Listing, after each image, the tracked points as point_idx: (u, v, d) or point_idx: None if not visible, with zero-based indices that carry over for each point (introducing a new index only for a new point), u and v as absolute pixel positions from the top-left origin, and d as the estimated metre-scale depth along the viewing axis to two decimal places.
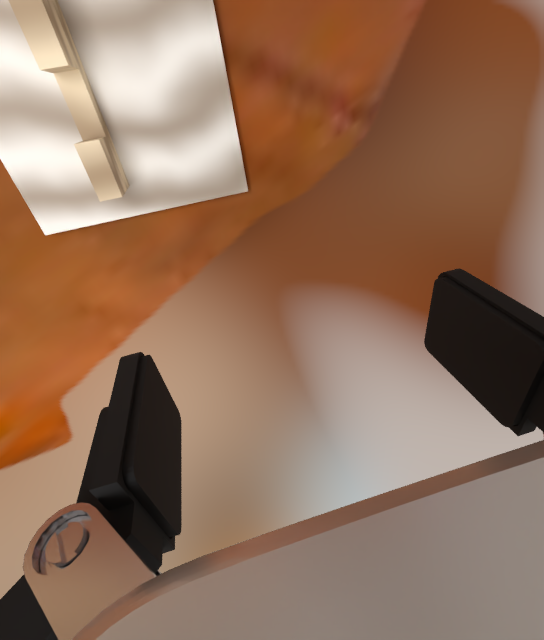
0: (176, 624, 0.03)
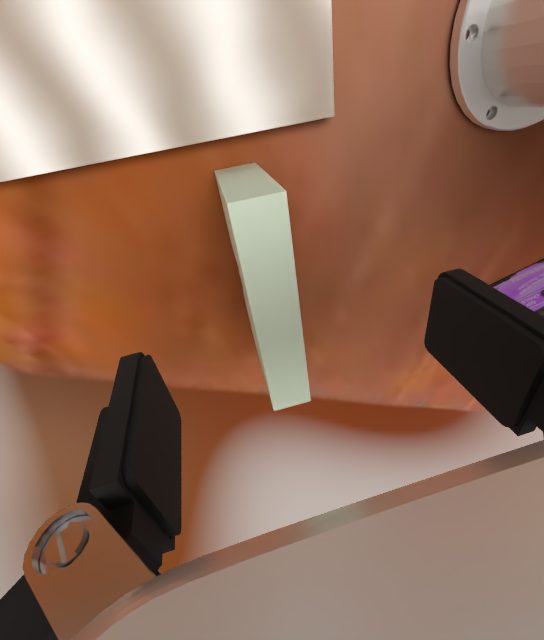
0: (176, 624, 0.03)
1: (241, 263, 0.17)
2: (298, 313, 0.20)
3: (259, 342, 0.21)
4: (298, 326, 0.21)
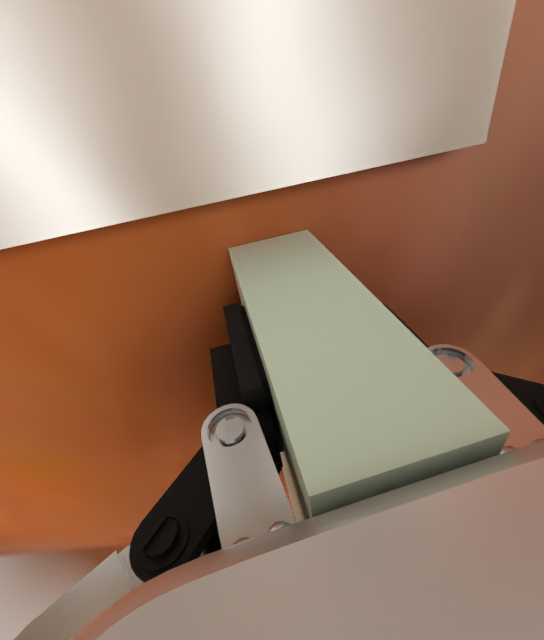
0: (176, 623, 0.03)
1: None
2: None
3: None
4: None
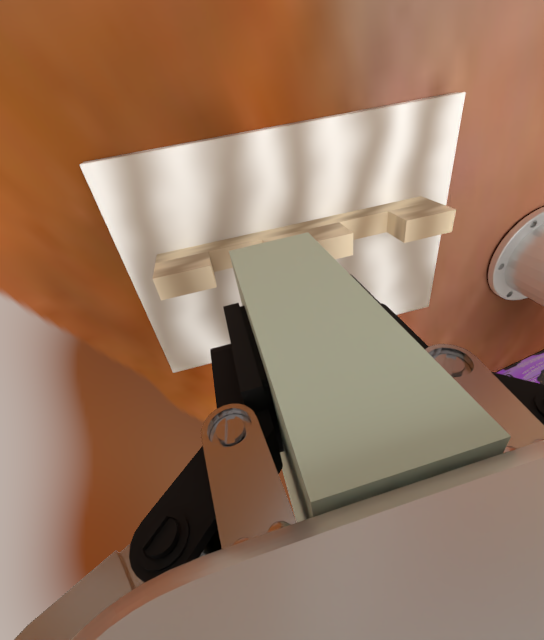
0: (176, 624, 0.03)
1: None
2: None
3: None
4: None
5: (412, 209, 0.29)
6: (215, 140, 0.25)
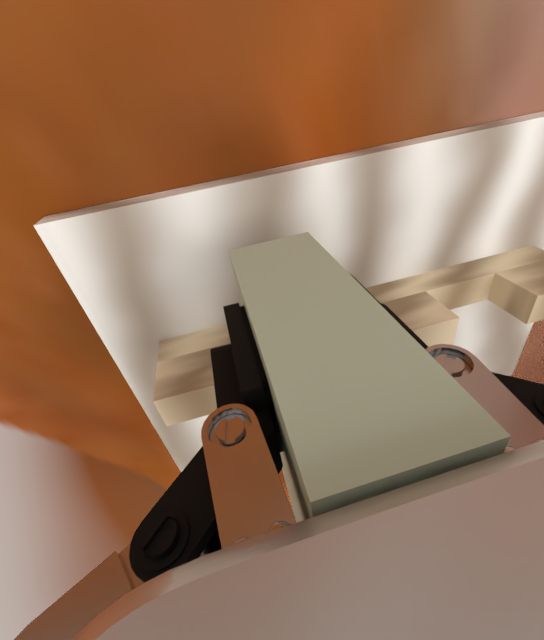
0: (176, 623, 0.03)
1: None
2: None
3: None
4: None
5: (533, 271, 0.20)
6: (250, 181, 0.16)
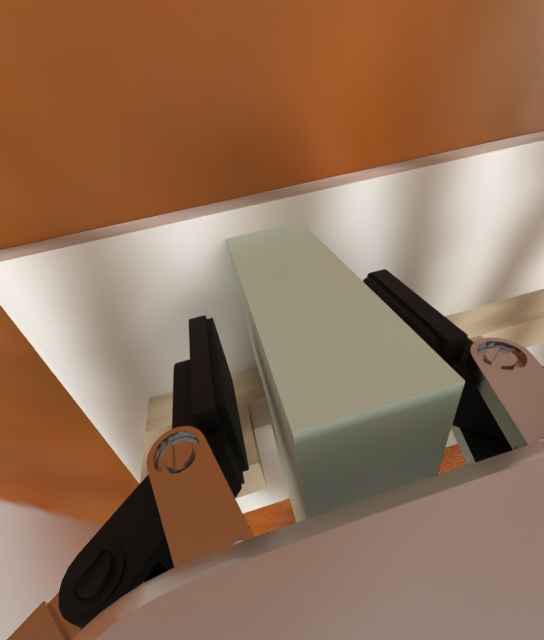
0: (176, 624, 0.03)
1: None
2: None
3: None
4: None
5: None
6: (267, 204, 0.12)
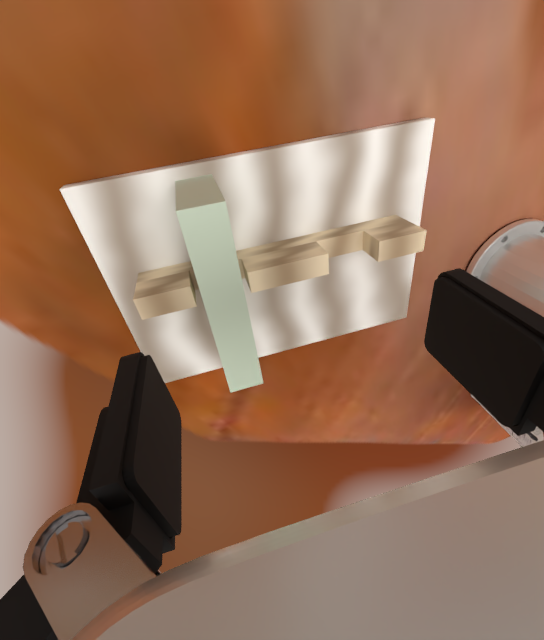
0: (176, 624, 0.03)
1: (191, 261, 0.21)
2: (245, 304, 0.24)
3: (212, 329, 0.24)
4: (246, 315, 0.24)
5: (386, 229, 0.30)
6: (193, 165, 0.26)
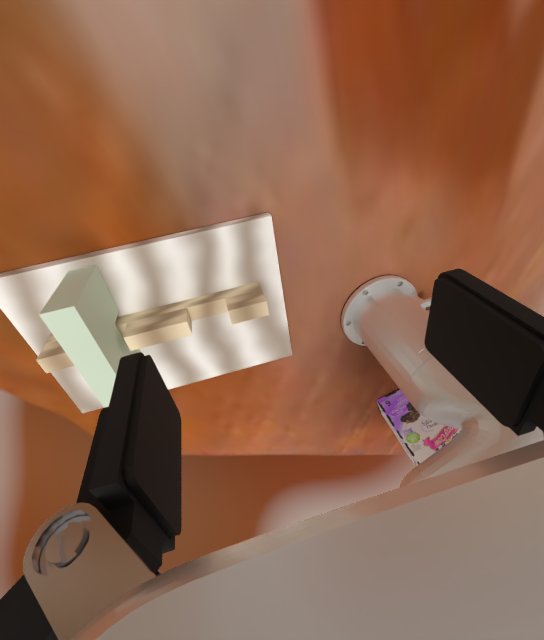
0: (176, 623, 0.03)
1: (59, 342, 0.30)
2: (109, 366, 0.33)
3: (88, 384, 0.33)
4: (112, 373, 0.33)
5: (241, 297, 0.39)
6: (80, 260, 0.35)
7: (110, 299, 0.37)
